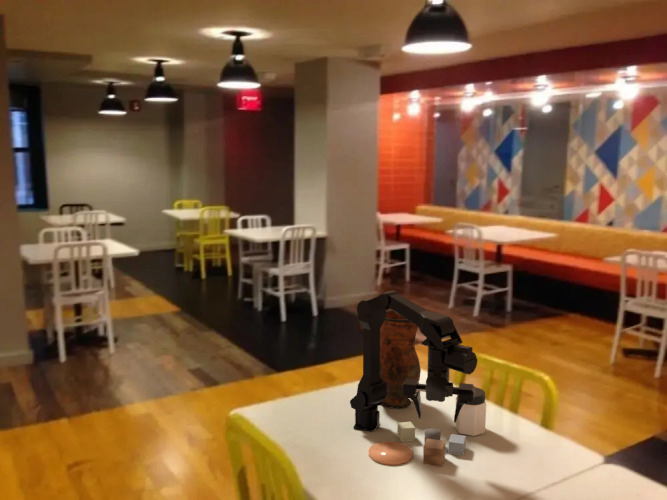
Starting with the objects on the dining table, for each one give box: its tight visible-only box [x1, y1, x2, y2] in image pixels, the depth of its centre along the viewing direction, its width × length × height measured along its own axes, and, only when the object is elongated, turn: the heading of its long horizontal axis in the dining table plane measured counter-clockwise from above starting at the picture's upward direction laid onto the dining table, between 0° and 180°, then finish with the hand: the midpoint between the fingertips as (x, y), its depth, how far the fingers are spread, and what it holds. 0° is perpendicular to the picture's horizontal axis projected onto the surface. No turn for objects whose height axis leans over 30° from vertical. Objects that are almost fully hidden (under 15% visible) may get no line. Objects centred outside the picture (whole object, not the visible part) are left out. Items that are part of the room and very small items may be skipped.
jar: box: [454, 386, 487, 437], centre depth 186 cm, size 9×8×12 cm
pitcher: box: [358, 310, 422, 410], centre depth 205 cm, size 17×21×30 cm
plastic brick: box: [448, 433, 467, 456], centre depth 174 cm, size 4×5×4 cm
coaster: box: [368, 440, 413, 466], centre depth 172 cm, size 12×12×1 cm
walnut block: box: [422, 438, 446, 468], centre depth 168 cm, size 5×5×5 cm
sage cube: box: [396, 421, 416, 443], centre depth 181 cm, size 4×4×4 cm
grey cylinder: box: [424, 427, 442, 443], centre depth 177 cm, size 4×4×4 cm
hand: (437, 420), depth 167 cm, fingers open, 9 cm apart
